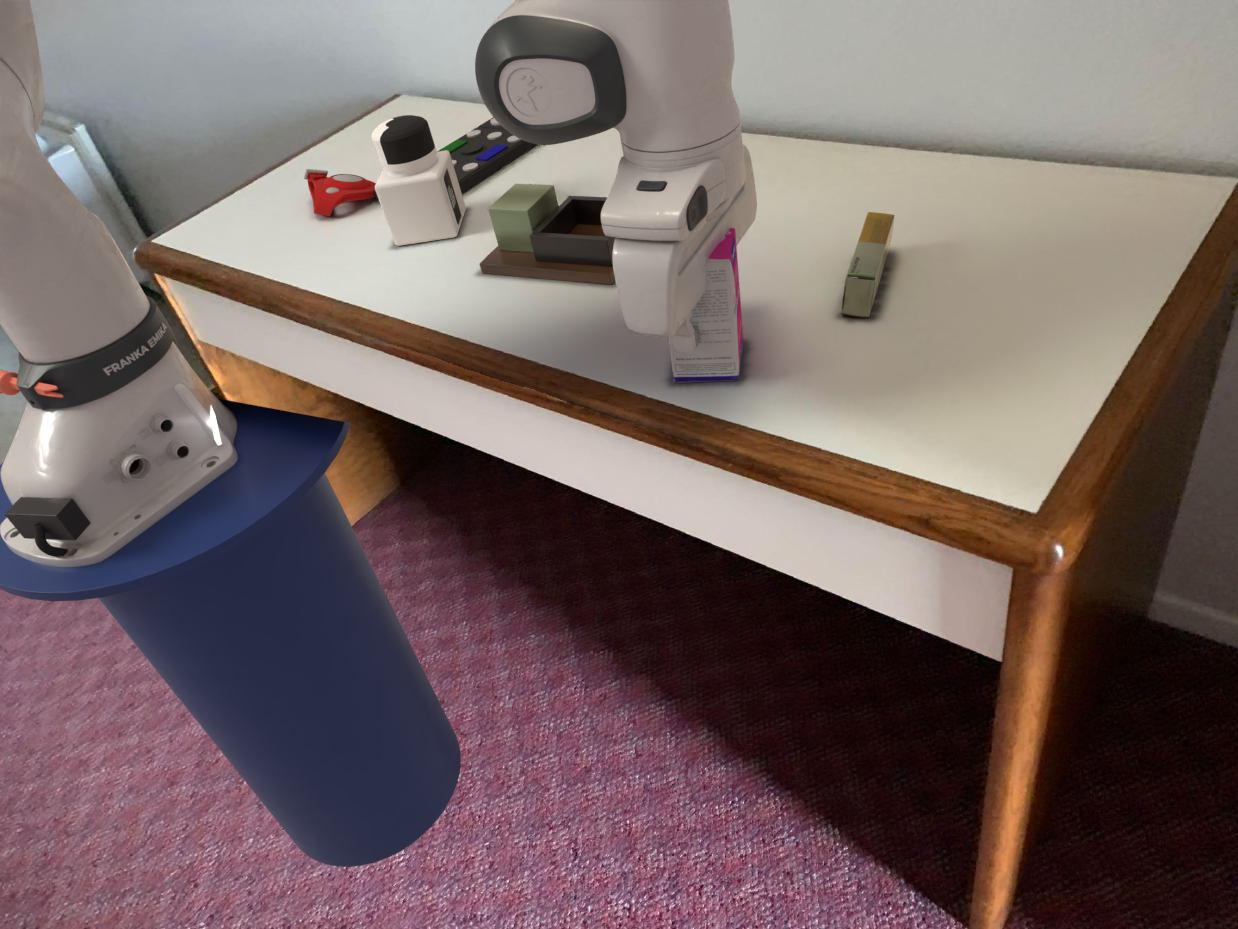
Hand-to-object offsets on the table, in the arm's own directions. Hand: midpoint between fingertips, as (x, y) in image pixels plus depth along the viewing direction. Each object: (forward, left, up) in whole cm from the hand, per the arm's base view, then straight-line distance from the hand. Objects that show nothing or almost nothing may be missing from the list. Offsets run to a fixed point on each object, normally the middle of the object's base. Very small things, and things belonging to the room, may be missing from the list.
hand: (705, 322), depth 78 cm
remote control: (+40, +49, -4) cm, 63 cm away
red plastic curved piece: (+26, +63, -4) cm, 68 cm away
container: (+20, +44, -4) cm, 49 cm away
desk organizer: (+17, +23, -4) cm, 29 cm away
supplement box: (0, 0, -4) cm, 4 cm away
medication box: (+15, -10, -4) cm, 19 cm away
